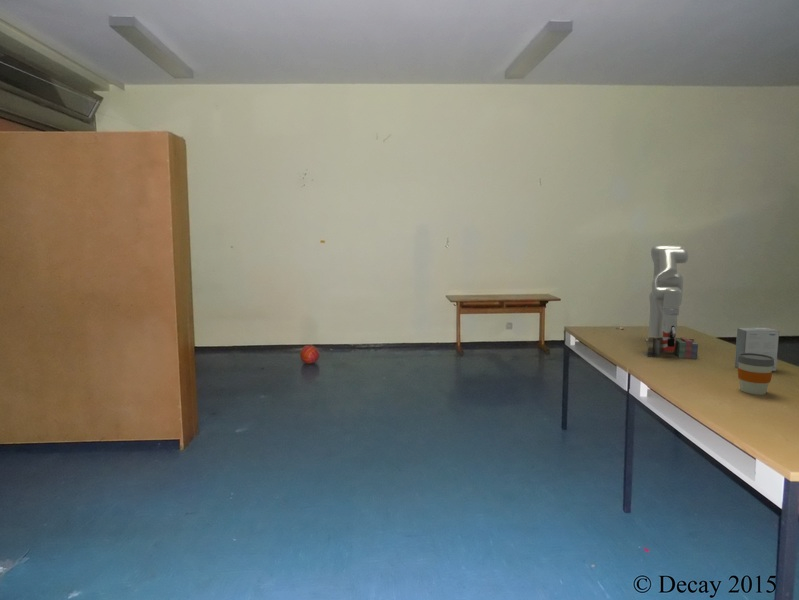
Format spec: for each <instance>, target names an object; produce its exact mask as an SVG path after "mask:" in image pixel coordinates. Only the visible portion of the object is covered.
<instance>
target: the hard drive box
mask: <svg viewBox="0 0 799 600" xmlns="http://www.w3.org/2000/svg"><path fill="white" fill-rule="evenodd" d="M779 337H780V331H779V330H777V329H774V328H769V327H737V328H736V340H735V341H736V343H735V356H734V357H735V358H734V367H735V368H737V369H738V367H739V363H738V356H739V354H741V353H754V354H762V355H767V356H771V357H773V358H774V366H773V368H772V371H773V372H776V371H777V362H778V350H779V339H780V338H779Z"/></svg>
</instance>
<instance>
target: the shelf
mask: <svg viewBox="0 0 799 600" xmlns="http://www.w3.org/2000/svg"><path fill="white" fill-rule="evenodd" d="M647 338H648V342H647V343H646V344H647V345H646V346H647V347H646V352H650V353H653V338H654V337H649V336H647ZM655 338H656V339H658V340H659V341H660V351H659V353H665V354H664V355H666V354H667V355H668V354H669V355H674V356H675V357H677V358H678V359H687V358H692V359H691V360H697V359H698V350H699V348H698V347H699V344H698V343H697V342H695V338H693V337H691V338H690V337H676V340H675V351H673V352H665V351H663V350H662V341H663V337H655Z"/></svg>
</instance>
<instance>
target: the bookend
mask: <svg viewBox="0 0 799 600" xmlns="http://www.w3.org/2000/svg"><path fill="white" fill-rule="evenodd" d="M659 351H660V341H659V340H658V339H656V338H655V337H654V338H653V353H650V352H647V351H646V352H645V351H643V352H642V354H643V355H644V356H646V357H647V358H657V357H659V358H660V354H659Z"/></svg>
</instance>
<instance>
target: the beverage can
mask: <svg viewBox="0 0 799 600" xmlns="http://www.w3.org/2000/svg"><path fill="white" fill-rule="evenodd" d="M670 333H672V332H670ZM670 336H671V335H670ZM676 336H677V333H676V334H675V340H676V338H677V337H676ZM668 339H669V337H668V334H666V333H665V332H664V331H663V341H662V350H663V351H665V352H673V351H675V342H674V347H670V346H667V344H668Z"/></svg>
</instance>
